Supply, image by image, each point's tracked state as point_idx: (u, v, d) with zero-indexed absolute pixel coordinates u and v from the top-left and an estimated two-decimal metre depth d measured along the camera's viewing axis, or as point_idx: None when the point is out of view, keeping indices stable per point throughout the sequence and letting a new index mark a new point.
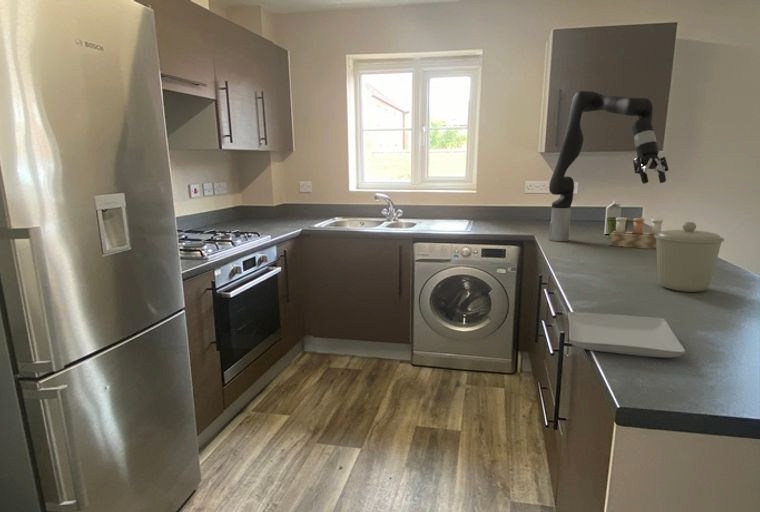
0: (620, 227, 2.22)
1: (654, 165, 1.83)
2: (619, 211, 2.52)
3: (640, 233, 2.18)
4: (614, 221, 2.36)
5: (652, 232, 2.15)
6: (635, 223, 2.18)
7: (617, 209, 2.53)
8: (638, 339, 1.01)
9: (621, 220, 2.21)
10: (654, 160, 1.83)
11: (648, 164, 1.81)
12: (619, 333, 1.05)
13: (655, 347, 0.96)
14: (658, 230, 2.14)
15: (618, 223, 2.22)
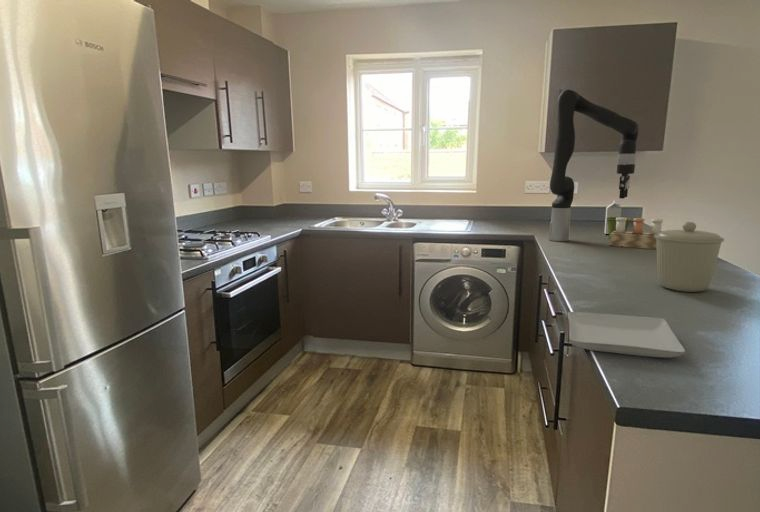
0: (620, 227, 2.22)
1: None
2: (619, 211, 2.53)
3: (640, 233, 2.18)
4: (614, 221, 2.36)
5: (652, 232, 2.15)
6: (635, 223, 2.18)
7: (617, 209, 2.53)
8: (638, 339, 1.01)
9: (621, 220, 2.21)
10: None
11: (627, 183, 2.16)
12: (619, 333, 1.05)
13: (655, 347, 0.96)
14: (658, 230, 2.14)
15: (618, 223, 2.22)
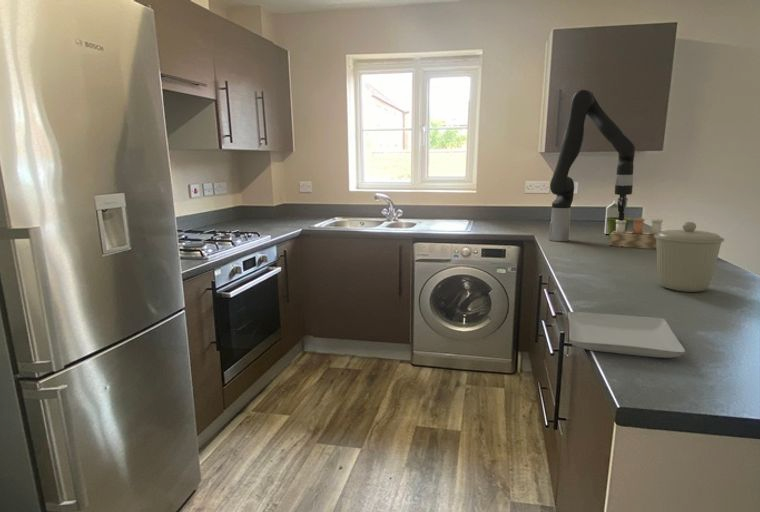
0: (620, 229, 2.22)
1: None
2: None
3: (640, 233, 2.18)
4: (614, 221, 2.36)
5: (652, 232, 2.15)
6: (635, 223, 2.18)
7: (617, 209, 2.53)
8: (638, 339, 1.01)
9: (621, 222, 2.21)
10: None
11: (625, 204, 2.20)
12: (619, 333, 1.05)
13: (655, 347, 0.96)
14: (658, 230, 2.14)
15: (618, 225, 2.23)
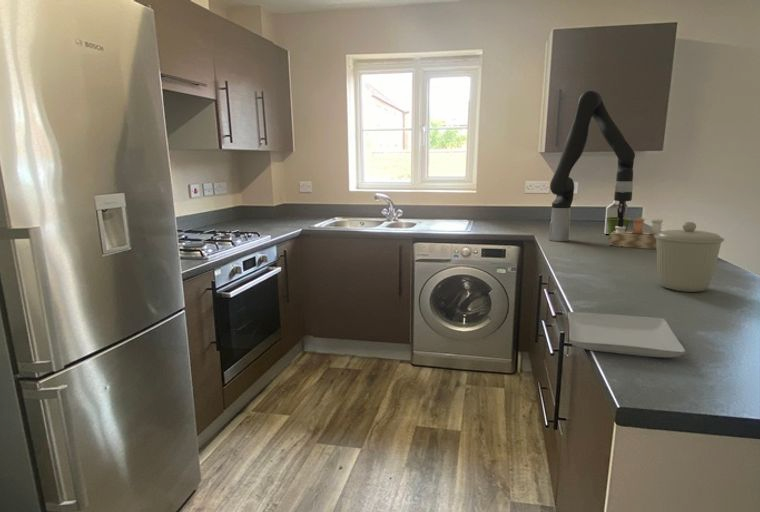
0: None
1: (624, 208, 2.21)
2: None
3: (640, 233, 2.18)
4: (614, 221, 2.36)
5: (652, 232, 2.15)
6: (635, 223, 2.18)
7: None
8: (638, 339, 1.01)
9: (620, 229, 2.22)
10: None
11: (625, 211, 2.20)
12: (619, 333, 1.05)
13: (655, 347, 0.96)
14: (658, 230, 2.14)
15: (617, 231, 2.23)
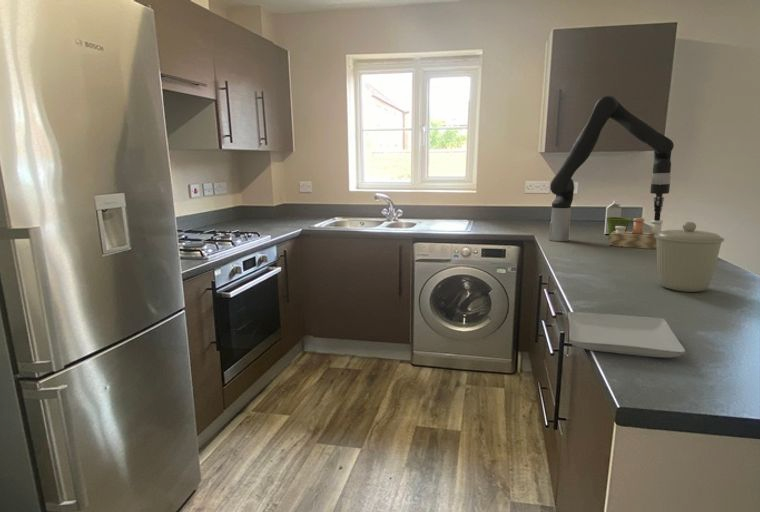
0: None
1: (661, 201, 2.12)
2: (619, 211, 2.52)
3: (640, 233, 2.18)
4: (614, 221, 2.36)
5: (652, 233, 2.15)
6: (635, 223, 2.18)
7: (617, 209, 2.53)
8: (638, 339, 1.01)
9: (620, 229, 2.22)
10: (663, 198, 2.12)
11: (662, 204, 2.11)
12: (619, 333, 1.05)
13: (655, 347, 0.96)
14: (658, 231, 2.14)
15: (617, 231, 2.23)
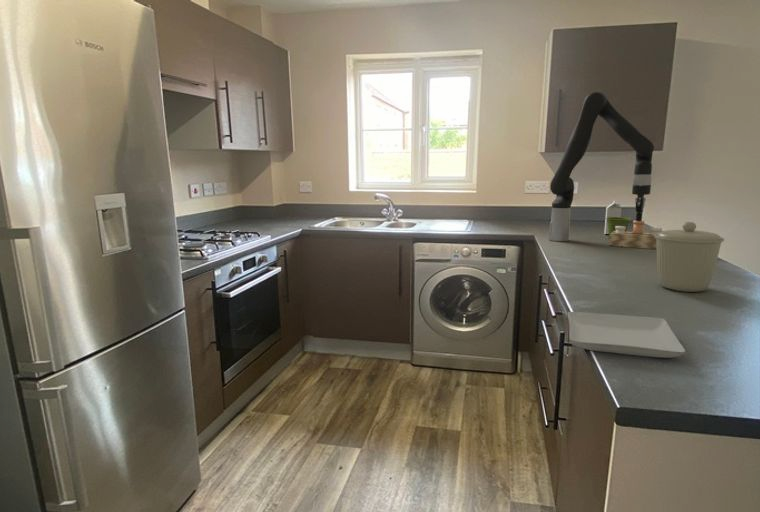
0: None
1: None
2: (619, 211, 2.53)
3: None
4: (614, 221, 2.36)
5: None
6: (635, 225, 2.18)
7: (617, 209, 2.53)
8: (638, 339, 1.01)
9: (620, 229, 2.22)
10: None
11: (643, 205, 2.16)
12: (619, 333, 1.05)
13: (655, 347, 0.96)
14: None
15: (617, 231, 2.23)
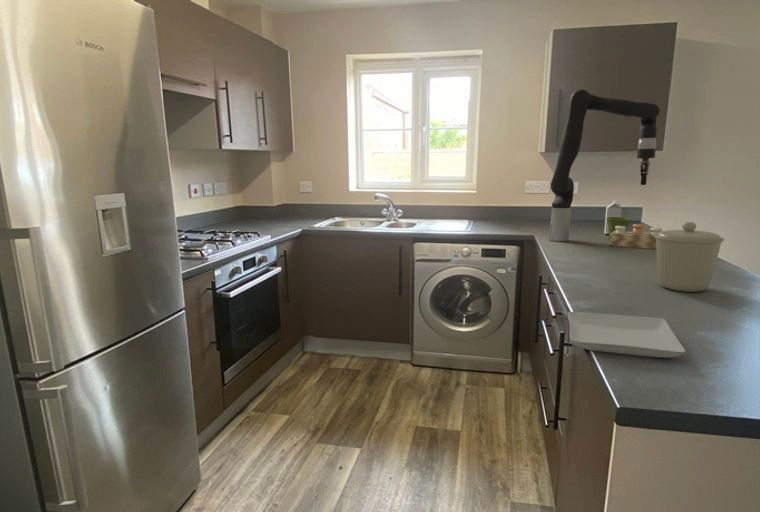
0: None
1: (647, 166, 2.19)
2: (619, 211, 2.53)
3: None
4: (614, 221, 2.36)
5: None
6: (635, 229, 2.19)
7: (617, 209, 2.53)
8: (638, 339, 1.01)
9: (620, 229, 2.22)
10: None
11: (648, 168, 2.18)
12: (619, 333, 1.05)
13: (655, 347, 0.96)
14: None
15: (617, 231, 2.23)
